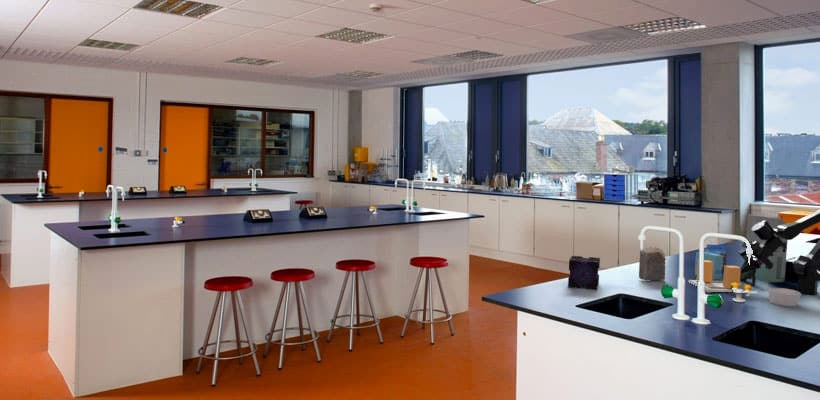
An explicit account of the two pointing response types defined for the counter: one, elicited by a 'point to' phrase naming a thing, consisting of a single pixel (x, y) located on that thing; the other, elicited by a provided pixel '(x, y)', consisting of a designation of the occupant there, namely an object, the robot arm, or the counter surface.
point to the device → (778, 256)
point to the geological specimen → (652, 264)
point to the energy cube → (584, 272)
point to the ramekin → (783, 296)
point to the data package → (717, 264)
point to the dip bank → (713, 286)
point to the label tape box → (717, 252)
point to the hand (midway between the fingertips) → (740, 272)
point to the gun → (748, 276)
